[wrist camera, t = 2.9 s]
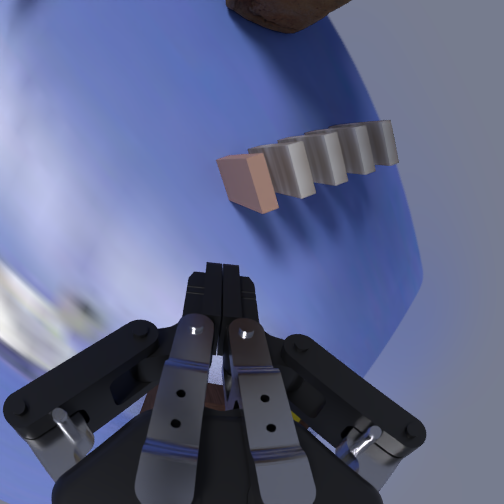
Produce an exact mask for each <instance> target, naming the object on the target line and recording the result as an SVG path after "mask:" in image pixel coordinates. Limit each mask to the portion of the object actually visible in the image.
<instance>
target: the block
mask: <svg viewBox="0 0 504 504" xmlns="http://www.w3.org/2000/svg"><path fill="white" fill-rule="evenodd" d="M349 1H351V0H226V6H227V7H228V8H230V9H232V10H234V11H235V12H236V13H238V14H240V15H241V16H242V17H244V18H245V19H247V20H249V21H252V22H254V23H256V24H259V25H261V26H263V27H265V28H268V29H271V30H274V31H279V32H282V33H295V32H298V31H300V30H302V29H304V28H306V27H308V26H310V25H312V24H314V23H316V22H317V21H319V20H321V19H322V18H324V17H325V16H327V15H328V14H329V13H330V12H332V11H334V10H336V9H337V8H340V7H341V6H343V5H345V4H347V3H348V2H349Z"/></svg>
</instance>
